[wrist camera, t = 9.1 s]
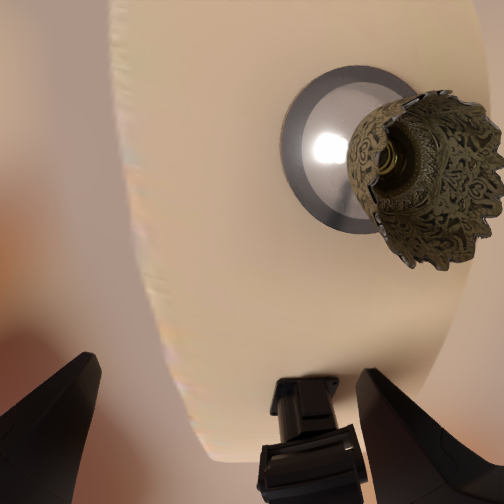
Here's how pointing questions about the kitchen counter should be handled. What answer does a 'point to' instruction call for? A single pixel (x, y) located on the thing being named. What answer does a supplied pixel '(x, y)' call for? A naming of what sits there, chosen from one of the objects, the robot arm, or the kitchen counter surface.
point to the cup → (428, 176)
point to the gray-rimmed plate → (333, 141)
